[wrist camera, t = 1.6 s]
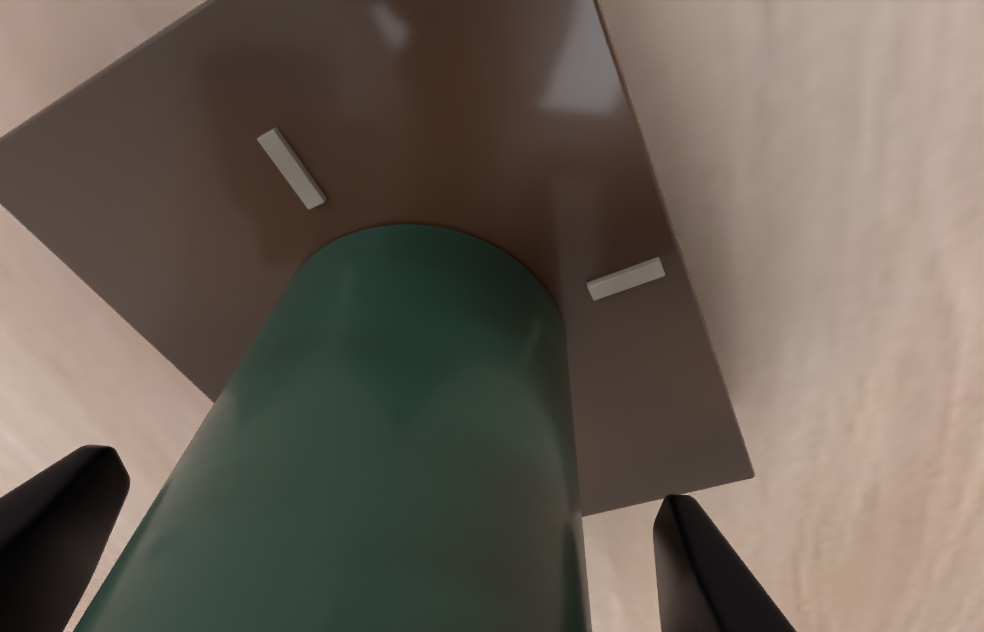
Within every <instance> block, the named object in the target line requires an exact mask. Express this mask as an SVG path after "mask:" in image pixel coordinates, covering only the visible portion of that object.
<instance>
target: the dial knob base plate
mask: <svg viewBox="0 0 984 632" xmlns="http://www.w3.org/2000/svg"><path fill="white" fill-rule="evenodd" d="M0 204H1V205H2V206H3V207H4V208H5V209H6V210H8V211H9V212H10V213H11V214H12V215H13V216H14V217H15V218H16V219H17V220H18V221H19V222H20V223H21V224H23V225H24V226H25V227H26V228H27V229H28V230H29V231H30V232H31V233H32V234H33V235H34V236H35V237H36V238H38V239H39V240H40V241H41V242H42V243H43V244H44V245H45V246H46V247H47V248H48V249H49V250H50V251H52V252H53V253H54V254H55V255H56V256H57V257H58V258H59V259H60V260H61V261H62V262H63V263H64V264H65V265H67V266H68V267H69V268H70V269H71V270H72V271H73V272H74V273H75V274H76V275H77V276H78V277H79V278H80V279H82V280H83V281H84V282H85V283H86V284H87V285H88V286H89V287H90V288H91V289H92V290H93V291H94V292H95V293H97V294H98V295H99V296H100V297H101V298H102V299H103V300H104V301H105V302H106V303H107V304H108V305H109V306H111V307H112V308H113V309H114V310H115V311H116V312H117V313H118V314H119V315H120V316H121V317H122V318H123V319H124V320H126V321H127V322H128V323H129V324H130V325H131V326H132V327H133V328H134V329H135V330H136V331H137V332H138V333H139V334H141V335H142V336H143V337H144V338H145V339H146V340H147V341H148V342H149V343H150V344H151V345H152V346H153V347H155V348H156V349H157V350H158V351H159V352H160V353H161V354H162V355H163V356H164V357H165V358H166V359H167V360H168V361H170V362H171V363H172V364H173V365H174V366H175V367H176V368H177V369H178V370H179V371H180V372H181V373H182V374H183V375H185V376H186V377H187V378H188V379H189V380H190V381H191V382H192V383H193V384H194V385H195V386H196V387H197V388H199V389H200V390H201V391H202V392H203V393H204V394H205V395H206V396H207V397H208V398H209V399H210V400H211V401H212V402H214V403H215V402H216V400H217V399H218V397H219V395H220V394H221V392H222V391H223V389H224V387H225V386H226V384H227V382H228V381H229V379H230V378H231V376H232V374H233V373H234V371H235V370H236V368H237V366H238V365H239V363H240V362H241V360H242V358H243V357H244V355H245V353H246V352H247V350H248V349H249V347H250V345H251V344H252V342H253V341H254V339H255V337H256V336H257V334H258V332H259V331H260V329H261V328H262V326H263V324H264V323H265V321H266V320H267V318H268V316H269V315H270V313H271V312H272V310H273V308H274V307H275V305H276V303H277V302H278V300H279V299H280V297H281V295H282V294H283V292H284V291H285V289H286V287H287V286H288V284H289V283H290V281H291V280H292V278H293V277H294V275H295V274H296V272H297V271H298V269H299V268H300V267H301V266H302V265H303V264H304V263H305V262H306V261H307V260H308V259H309V258H310V257H311V256H312V255H313V254H315V253H316V252H317V251H319V250H320V249H321V248H323V247H324V246H326V245H328V244H330V243H332V242H333V241H335V240H337V239H339V238H341V237H344V236H346V235H349V234H352V233H355V232H357V231H360V230H365V229H369V228H374V227H378V226H387V225H397V224H414V225H428V226H435V227H442V228H447V229H450V230H454V231H458V232H462V233H465V234H468V235H471V236H473V237H476V238H478V239H481V240H483V241H486V242H488V243H489V244H491V245H493V246H495V247H497V248H499V249H501V250H502V251H504V252H506V253H507V254H508V255H510V256H511V257H513V258H514V259H516V260H517V261H518V262H520V263H521V264H522V265H523V266H524V267H525V268H526V269H527V270H529V271H530V272H531V273H532V274H533V275H534V276H535V277H536V278H537V279H538V281H539V282H540V283H541V284H542V285H543V287H544V288H545V289H546V290H547V292H548V293H549V295H550V297H551V298H552V300H553V302H554V303H555V305H556V307H557V309H558V312H559V314H560V317H561V319H562V322H563V326H564V330H565V335H566V344H567V356H568V367H569V378H570V389H571V401H572V412H573V423H574V434H575V446H576V457H577V468H578V480H579V491H580V502H581V513H582V517H584V516H589V515H593V514H597V513H602V512H606V511H610V510H615V509H619V508H624V507H628V506H632V505H637V504H641V503H645V502H650V501H654V500H658V499H663V498H665V497H666V496H667V495H668V494H677V495H680V494H685V493H689V492H693V491H698V490H702V489H706V488H711V487H715V486H719V485H724V484H728V483H733V482H737V481H741V480H746V479H750V478H753V477H754V476H755V473H754V470H753V467H752V464H751V461H750V458H749V455H748V452H747V449H746V446H745V443H744V440H743V437H742V434H741V431H740V428H739V425H738V422H737V419H736V416H735V413H734V409H733V406H732V403H731V400H730V397H729V394H728V391H727V388H726V385H725V382H724V379H723V376H722V373H721V370H720V367H719V364H718V361H717V358H716V355H715V352H714V349H713V346H712V343H711V340H710V337H709V334H708V331H707V328H706V325H705V322H704V319H703V316H702V313H701V310H700V307H699V304H698V301H697V298H696V295H695V292H694V289H693V286H692V283H691V279H690V276H689V273H688V270H687V267H686V264H685V261H684V258H683V255H682V252H681V249H680V246H679V243H678V240H677V237H676V234H675V231H674V228H673V225H672V222H671V219H670V216H669V213H668V210H667V207H666V204H665V201H664V198H663V195H662V192H661V189H660V186H659V183H658V180H657V177H656V174H655V171H654V168H653V165H652V162H651V159H650V156H649V152H648V149H647V146H646V143H645V140H644V137H643V134H642V131H641V128H640V125H639V122H638V119H637V116H636V113H635V110H634V107H633V104H632V101H631V98H630V95H629V92H628V89H627V86H626V83H625V80H624V77H623V74H622V71H621V68H620V65H619V62H618V59H617V56H616V53H615V50H614V47H613V44H612V41H611V38H610V35H609V32H608V29H607V26H606V22H605V19H604V16H603V13H602V10H601V7H600V4H599V1H598V0H206V1H205V2H203V3H202V4H200V5H199V6H197V7H196V8H194V9H193V10H191V11H190V12H188V13H187V14H185V15H184V16H182V17H181V18H179V19H178V20H176V21H175V22H173V23H172V24H170V25H169V26H167V27H166V28H164V29H163V30H161V31H160V32H158V33H157V34H155V35H154V36H152V37H151V38H149V39H148V40H146V41H145V42H143V43H142V44H140V45H139V46H137V47H136V48H134V49H133V50H131V51H130V52H128V53H127V54H125V55H124V56H122V57H121V58H119V59H118V60H116V61H115V62H113V63H112V64H110V65H109V66H107V67H106V68H104V69H103V70H101V71H100V72H98V73H97V74H95V75H94V76H92V77H91V78H89V79H88V80H86V81H85V82H83V83H82V84H80V85H79V86H77V87H76V88H74V89H73V90H71V91H70V92H68V93H67V94H65V95H64V96H62V97H61V98H59V99H58V100H56V101H55V102H53V103H52V104H50V105H49V106H47V107H46V108H44V109H43V110H41V111H40V112H38V113H37V114H35V115H34V116H32V117H31V118H29V119H28V120H26V121H25V122H23V123H22V124H20V125H19V126H17V127H16V128H14V129H13V130H11V131H10V132H8V133H6V134H5V135H3V136H2V137H0Z"/></svg>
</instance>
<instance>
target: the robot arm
mask: <svg viewBox="0 0 984 632" xmlns="http://www.w3.org/2000/svg"><path fill="white" fill-rule="evenodd" d="M129 487H130V477H129V474H128V473H127V471H126V469H125V467H124V465H123V463H122V461H121V459H120V457H119V455H118V453H117V451H116V450H115V449H114V448H112V447H110V446H101V445H85V446H82V447H80V448H78V449H77V450H75V451H73V452H72V453H70V454H69V455H67V456H66V457H64V458H62V459H61V460H59V461H58V462H56V463H55V464H53V465H51V466H50V467H48V468H47V469H45V470H44V471H42V472H40V473H39V474H37V475H36V476H34V477H32V478H31V479H29V480H28V481H26V482H25V483H23V484H21V485H20V486H18V487H17V488H15V489H14V490H12V491H10V492H9V493H7V494H6V495H4V496H3V497H1V498H0V632H63V630H64V628H65V627H66V625H67V623H68V621H69V619H70V618H71V616H72V614H73V612H74V610H75V608H76V607H77V605H78V603H79V601H80V599H81V597H82V596H83V594H84V592H85V590H86V588H87V586H88V584H89V582H90V580H91V578H92V576H93V573H94V571H95V569H96V567H97V565H98V562H99V560H100V557H101V555H102V553H103V550H104V548H105V546H106V543H107V541H108V539H109V536H110V534H111V532H112V529H113V527H114V525H115V522H116V520H117V518H118V515H119V513H120V510H121V508H122V506H123V503H124V501H125V499H126V496H127V494H128V491H129ZM653 542H654V553H655V565H656V577H657V588H658V600H659V612H660V622H661V631H662V632H796V630H795V629H794V628H793V626H792V625H791V624H790V623H789V621H788V620H787V619H786V617H785V616H784V615H783V613H782V612H781V611H780V609H779V608H778V607H777V606H776V604H775V603H774V602H773V600H772V599H771V598H770V596H769V595H768V594H767V592H766V591H765V590H764V588H763V587H762V586H761V585H760V583H759V582H758V581H757V579H756V578H755V577H754V575H753V574H752V573H751V571H750V570H749V569H748V567H747V566H746V565H745V564H744V562H743V561H742V560H741V558H740V557H739V556H738V554H737V553H736V552H735V550H734V549H733V548H732V547H731V545H730V544H729V543H728V541H727V540H726V539H725V537H724V536H723V535H722V533H721V532H720V531H719V529H718V528H717V527H716V526H715V524H714V523H713V522H712V520H711V519H710V518H709V516H708V515H707V514H706V512H705V511H704V510H703V509H702V507H701V506H700V505H699V503H698V502H697V501H696V500H695V499H694V498H693V497H691V496H688V495H677V494H668V495H667V496H666V497H665V498H664V500H663V503H662V505H661V507H660V510H659V512H658V514H657V517H656V519H655V522H654V526H653Z"/></svg>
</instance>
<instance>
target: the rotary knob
mask: <svg viewBox="0 0 984 632" xmlns="http://www.w3.org/2000/svg"><path fill="white" fill-rule="evenodd" d="M73 632H592V626H591V615H590V604H589V592H588V581H587V570H586V558H585V547H584V536H583V525H582V513H581V502H580V491H579V480H578V468H577V457H576V446H575V434H574V423H573V412H572V401H571V389H570V378H569V367H568V356H567V344H566V335H565V330H564V326H563V322H562V319H561V317H560V314H559V312H558V309H557V307H556V305H555V303H554V302H553V300H552V298H551V297H550V295H549V293H548V292H547V290H546V289H545V288H544V287H543V285H542V284H541V283H540V282H539V281H538V279H537V278H536V277H535V276H534V275H533V274H532V273H531V272H530V271H529V270H527V269H526V268H525V267H524V266H523V265H522V264H521V263H520V262H518V261H517V260H516V259H514V258H513V257H511V256H510V255H508V254H507V253H506V252H504V251H502V250H501V249H499V248H497V247H495V246H493V245H491V244H489V243H488V242H486V241H483V240H481V239H478V238H476V237H473V236H471V235H468V234H465V233H462V232H458V231H454V230H450V229H447V228H442V227H435V226H428V225H414V224H397V225H387V226H378V227H374V228H369V229H365V230H360V231H357V232H355V233H352V234H349V235H346V236H344V237H341V238H339V239H337V240H335V241H333V242H332V243H330V244H328V245H326V246H324V247H323V248H321V249H320V250H319V251H317V252H316V253H315V254H313V255H312V256H311V257H310V258H309V259H308V260H307V261H306V262H305V263H304V264H303V265H302V266H301V267H300V268H299V269H298V271H297V272H296V274H295V275H294V277H293V278H292V280H291V281H290V283H289V284H288V286H287V287H286V289H285V291H284V292H283V294H282V295H281V297H280V299H279V300H278V302H277V303H276V305H275V307H274V308H273V310H272V312H271V313H270V315H269V316H268V318H267V320H266V321H265V323H264V324H263V326H262V328H261V329H260V331H259V332H258V334H257V336H256V337H255V339H254V341H253V342H252V344H251V345H250V347H249V349H248V350H247V352H246V353H245V355H244V357H243V358H242V360H241V362H240V363H239V365H238V366H237V368H236V370H235V371H234V373H233V374H232V376H231V378H230V379H229V381H228V382H227V384H226V386H225V387H224V389H223V391H222V392H221V394H220V395H219V397H218V399H217V400H216V402H215V403H214V405H213V407H212V408H211V410H210V411H209V413H208V415H207V416H206V418H205V420H204V421H203V423H202V424H201V426H200V428H199V429H198V431H197V432H196V434H195V436H194V437H193V439H192V440H191V442H190V444H189V445H188V447H187V449H186V450H185V452H184V453H183V455H182V457H181V458H180V460H179V461H178V463H177V465H176V466H175V468H174V469H173V471H172V473H171V474H170V476H169V478H168V479H167V481H166V482H165V484H164V486H163V487H162V489H161V490H160V492H159V494H158V495H157V497H156V499H155V500H154V502H153V503H152V505H151V507H150V508H149V510H148V511H147V513H146V515H145V516H144V518H143V519H142V521H141V523H140V524H139V526H138V528H137V529H136V531H135V532H134V534H133V536H132V537H131V539H130V540H129V542H128V544H127V545H126V547H125V548H124V550H123V552H122V553H121V555H120V557H119V558H118V560H117V561H116V563H115V565H114V566H113V568H112V569H111V571H110V573H109V574H108V576H107V577H106V579H105V581H104V582H103V584H102V586H101V587H100V589H99V590H98V592H97V594H96V595H95V597H94V598H93V600H92V602H91V603H90V605H89V606H88V608H87V610H86V611H85V613H84V615H83V616H82V618H81V619H80V621H79V623H78V624H77V626H76V627H75V629H74V631H73Z"/></svg>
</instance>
